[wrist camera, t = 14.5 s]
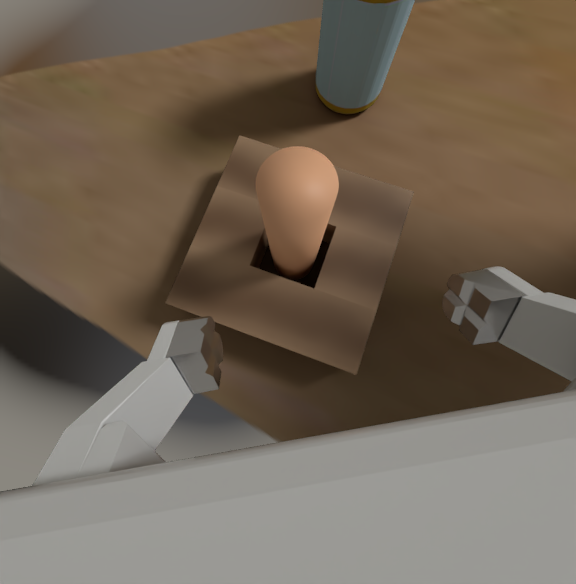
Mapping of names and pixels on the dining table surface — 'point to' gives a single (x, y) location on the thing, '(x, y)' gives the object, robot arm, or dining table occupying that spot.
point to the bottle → (357, 50)
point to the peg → (296, 206)
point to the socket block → (283, 292)
